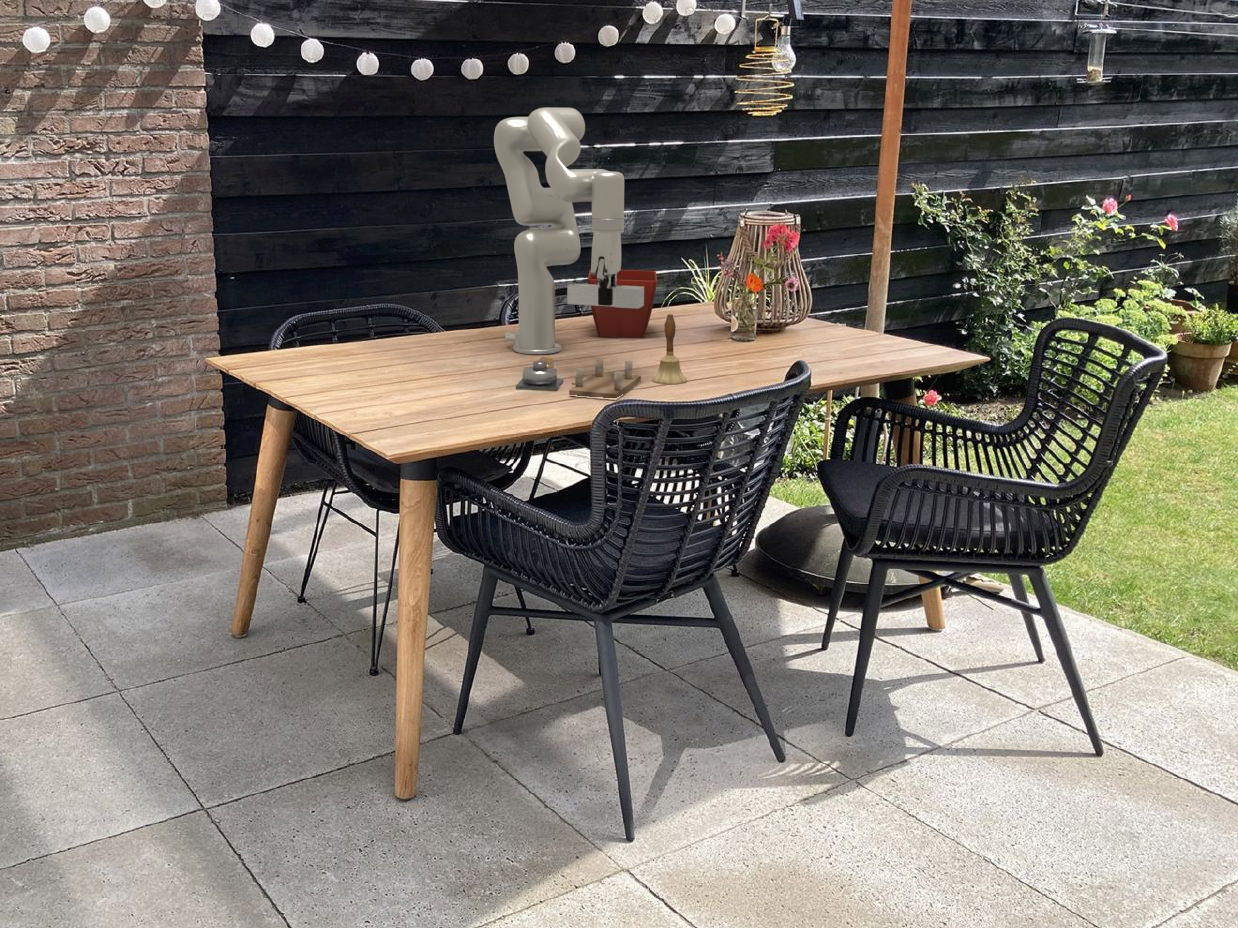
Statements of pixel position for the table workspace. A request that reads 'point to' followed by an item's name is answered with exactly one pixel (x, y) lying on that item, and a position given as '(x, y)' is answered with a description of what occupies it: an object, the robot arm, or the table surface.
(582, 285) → the grey joined blocks
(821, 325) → the table surface
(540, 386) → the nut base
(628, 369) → the rack
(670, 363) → the hand bell
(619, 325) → the plant pot
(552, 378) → the domed call bell
